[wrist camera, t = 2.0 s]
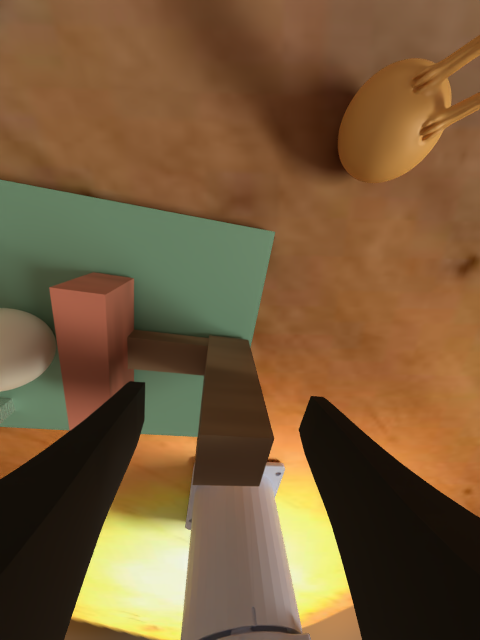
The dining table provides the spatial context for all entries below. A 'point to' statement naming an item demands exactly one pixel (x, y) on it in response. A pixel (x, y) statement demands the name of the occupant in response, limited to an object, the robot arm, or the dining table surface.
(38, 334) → the ball
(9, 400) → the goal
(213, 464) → the striker
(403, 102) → the figurine
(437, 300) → the dining table surface
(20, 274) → the board
